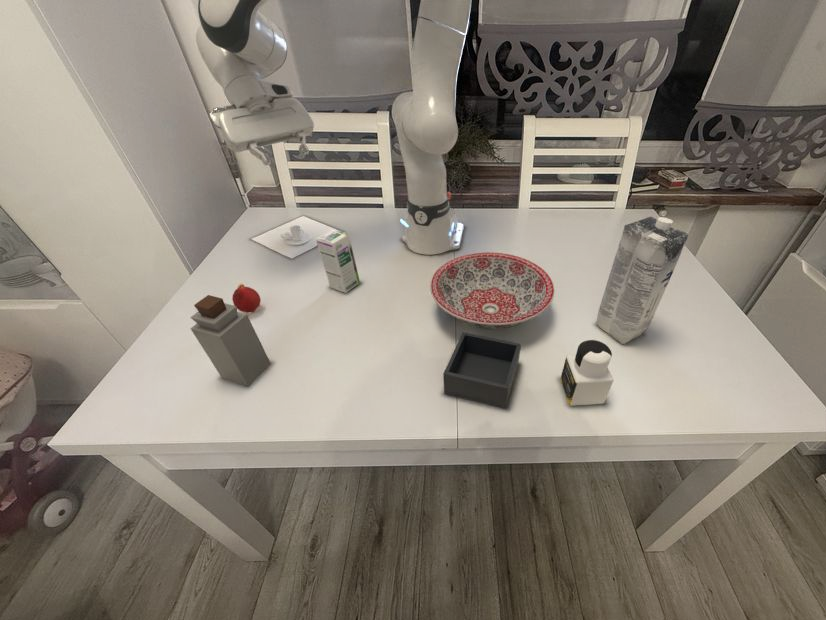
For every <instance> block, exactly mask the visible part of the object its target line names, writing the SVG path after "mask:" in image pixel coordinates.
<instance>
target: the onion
mask: <svg viewBox="0 0 826 620" xmlns="http://www.w3.org/2000/svg"><path fill="white" fill-rule="evenodd" d="M231 298H232V303H233V305H234V306H237V311H239V312H241V313H246V314H249V313H255V311H256V310H257V309H259V307H260V304H261V301H262V300H261V296H260V294H259V293H258V291H257V290H255V289H254V288H252V287H250V286H245V284H243V283H239V284H238V286H237V288H236V289H235V290H234V292H233V294H232V297H231Z"/></svg>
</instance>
